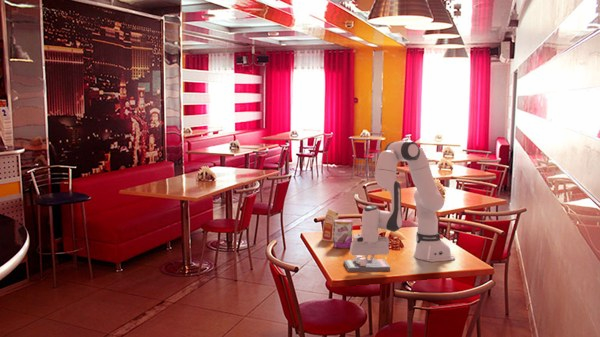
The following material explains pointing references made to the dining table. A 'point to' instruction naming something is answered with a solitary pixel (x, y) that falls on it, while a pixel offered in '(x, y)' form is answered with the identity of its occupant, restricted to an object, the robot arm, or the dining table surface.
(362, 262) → the handle
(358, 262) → the handle middle
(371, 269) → the breaker panel
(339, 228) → the candy bar box
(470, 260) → the dining table surface
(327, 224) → the milk carton
